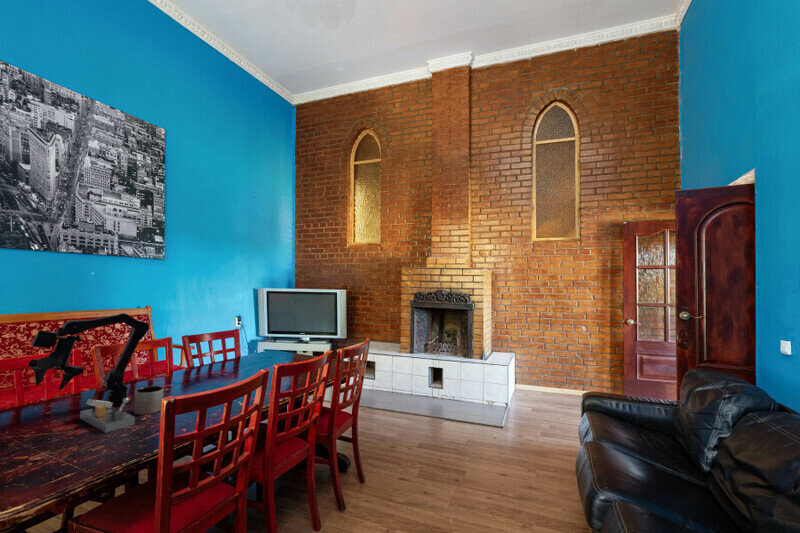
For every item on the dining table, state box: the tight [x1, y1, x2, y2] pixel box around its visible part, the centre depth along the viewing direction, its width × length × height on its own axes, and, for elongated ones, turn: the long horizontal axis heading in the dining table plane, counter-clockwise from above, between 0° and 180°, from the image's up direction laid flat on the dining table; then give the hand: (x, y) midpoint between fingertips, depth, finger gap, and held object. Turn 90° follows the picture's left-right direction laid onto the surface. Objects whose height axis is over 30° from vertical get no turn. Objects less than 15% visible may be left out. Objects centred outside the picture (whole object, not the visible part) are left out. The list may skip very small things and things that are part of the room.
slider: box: [95, 405, 106, 417], centre depth 155 cm, size 2×3×4 cm
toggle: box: [114, 397, 130, 416], centre depth 154 cm, size 2×2×8 cm
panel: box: [79, 405, 136, 433], centre depth 158 cm, size 10×24×5 cm, turn 58°
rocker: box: [86, 398, 113, 408], centre depth 162 cm, size 8×4×2 cm, turn 148°
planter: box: [133, 385, 165, 416], centre depth 171 cm, size 11×11×10 cm
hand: (48, 387), depth 160 cm, fingers open, 9 cm apart
